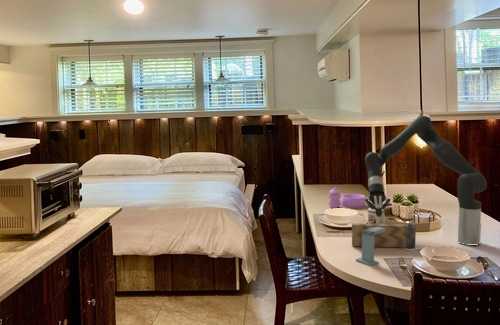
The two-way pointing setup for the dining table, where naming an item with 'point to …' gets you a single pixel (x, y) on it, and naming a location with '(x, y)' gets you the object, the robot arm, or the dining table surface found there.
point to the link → (387, 235)
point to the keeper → (369, 245)
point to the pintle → (415, 245)
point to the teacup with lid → (375, 217)
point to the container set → (346, 199)
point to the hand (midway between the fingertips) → (379, 216)
